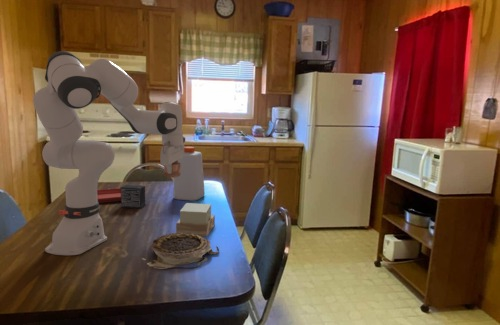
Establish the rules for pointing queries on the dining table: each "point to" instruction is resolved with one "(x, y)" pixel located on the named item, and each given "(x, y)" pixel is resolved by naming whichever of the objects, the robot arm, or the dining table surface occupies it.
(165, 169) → the terracotta cube
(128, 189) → the small box
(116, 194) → the plant saucer
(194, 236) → the pie
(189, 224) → the lower slab
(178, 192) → the plastic bottle
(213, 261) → the dining table surface
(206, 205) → the upper slab
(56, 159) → the robot arm
